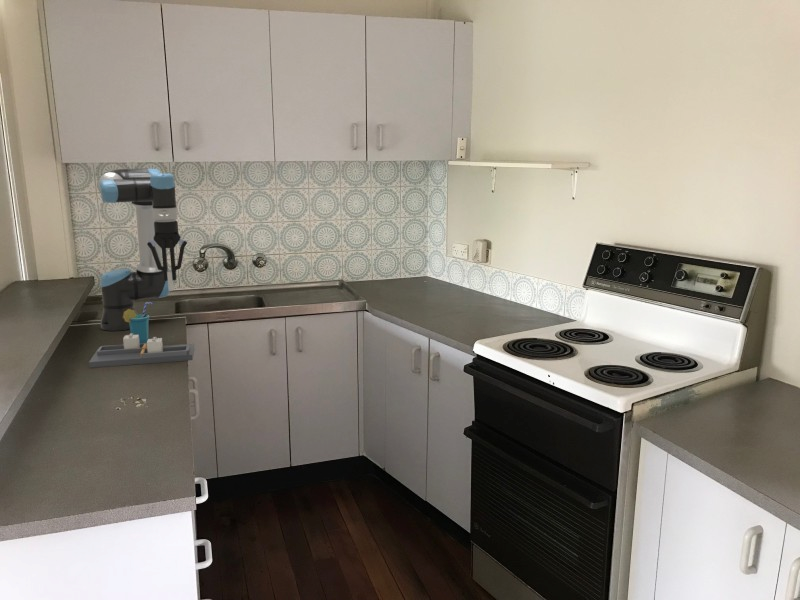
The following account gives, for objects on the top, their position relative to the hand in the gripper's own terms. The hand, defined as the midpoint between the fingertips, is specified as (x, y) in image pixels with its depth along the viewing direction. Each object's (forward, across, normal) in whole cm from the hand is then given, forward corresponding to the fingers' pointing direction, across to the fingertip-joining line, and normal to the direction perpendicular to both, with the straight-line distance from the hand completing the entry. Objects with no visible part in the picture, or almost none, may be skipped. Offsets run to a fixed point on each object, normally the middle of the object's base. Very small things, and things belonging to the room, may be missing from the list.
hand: (171, 289), depth 229 cm
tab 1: (+22, -15, +7) cm, 28 cm away
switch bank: (+24, -11, +3) cm, 27 cm away
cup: (+25, -14, +23) cm, 37 cm away
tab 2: (+22, -7, 0) cm, 23 cm away
